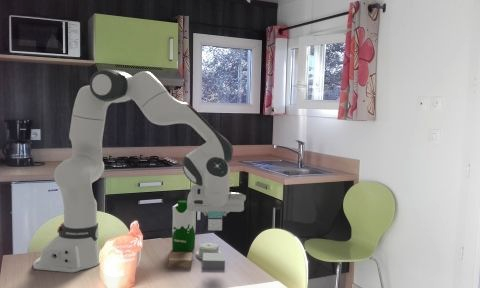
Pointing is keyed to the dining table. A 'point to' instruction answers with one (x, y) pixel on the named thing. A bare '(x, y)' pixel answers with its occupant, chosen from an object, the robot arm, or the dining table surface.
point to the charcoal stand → (213, 261)
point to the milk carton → (183, 227)
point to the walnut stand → (180, 260)
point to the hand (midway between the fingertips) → (215, 214)
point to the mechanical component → (207, 249)
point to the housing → (214, 220)
